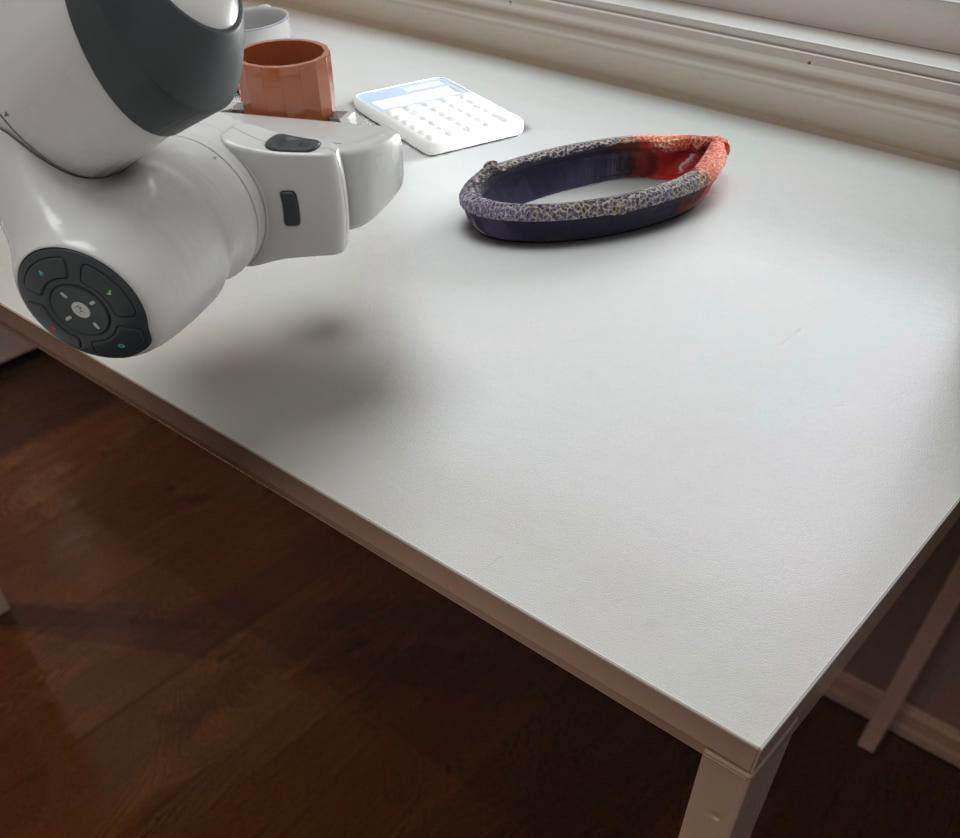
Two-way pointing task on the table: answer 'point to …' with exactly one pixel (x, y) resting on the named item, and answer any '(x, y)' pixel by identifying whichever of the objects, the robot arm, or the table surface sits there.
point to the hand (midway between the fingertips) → (296, 118)
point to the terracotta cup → (287, 79)
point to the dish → (512, 183)
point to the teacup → (265, 24)
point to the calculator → (438, 115)
